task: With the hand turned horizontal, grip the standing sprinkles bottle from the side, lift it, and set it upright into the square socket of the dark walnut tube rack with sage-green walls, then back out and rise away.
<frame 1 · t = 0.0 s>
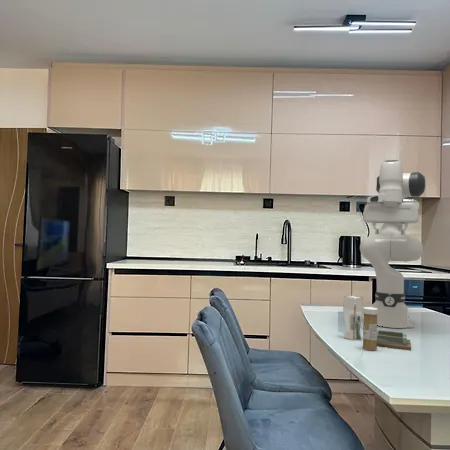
hand: (389, 234, 164), 39 cm above the table, tool pointing down, fingers open, 8 cm apart
sprinkles bottle: (369, 349, 137), on the table
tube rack: (390, 344, 146), on the table
beer glass: (352, 338, 154), on the table
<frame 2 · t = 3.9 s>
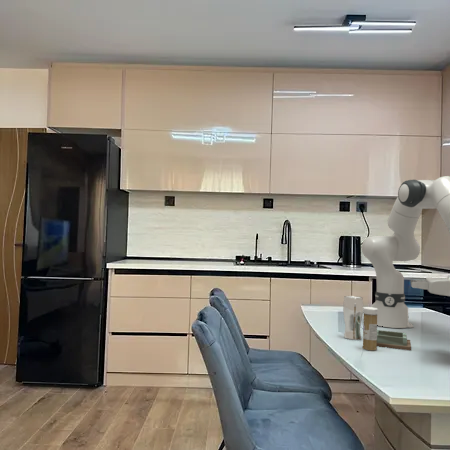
hand: (411, 283, 134), 22 cm above the table, tool horizontal, fingers open, 8 cm apart
nothing on the table moved.
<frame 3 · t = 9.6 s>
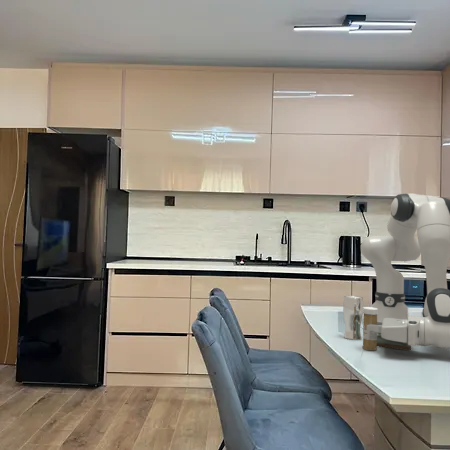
hand: (367, 325, 138), 8 cm above the table, tool horizontal, fingers closed on sprinkles bottle, 4 cm apart
sprinkles bottle: (369, 349, 137), on the table, touching gripper
everything else where it was.
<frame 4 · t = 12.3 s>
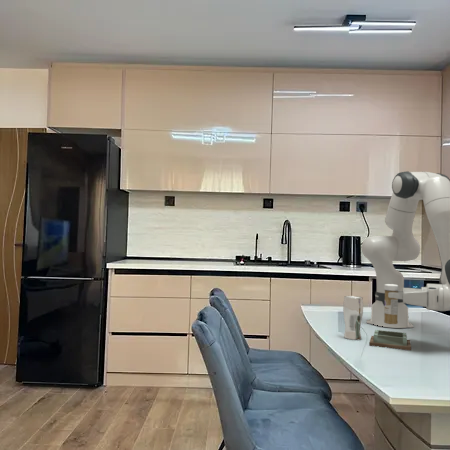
hand: (388, 294, 147), 17 cm above the table, tool horizontal, fingers closed on sprinkles bottle, 4 cm apart
sprinkles bottle: (391, 323, 147), point 7 cm above the table, touching gripper
everything else where it was.
when the fingers open (11 cm above the table, at t = 13.7 s): sprinkles bottle stays where it is, resting on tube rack.
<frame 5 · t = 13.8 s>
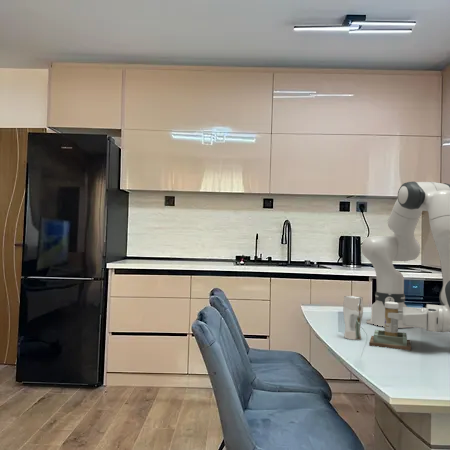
hand: (387, 313, 147), 10 cm above the table, tool horizontal, fingers open, 4 cm apart
sprinkles bottle: (390, 341, 146), point 1 cm above the table, touching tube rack
everything else where it was.
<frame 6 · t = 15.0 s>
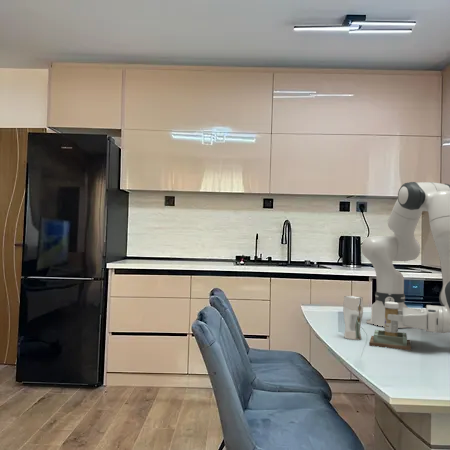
hand: (387, 314, 147), 10 cm above the table, tool horizontal, fingers open, 8 cm apart
nothing on the table moved.
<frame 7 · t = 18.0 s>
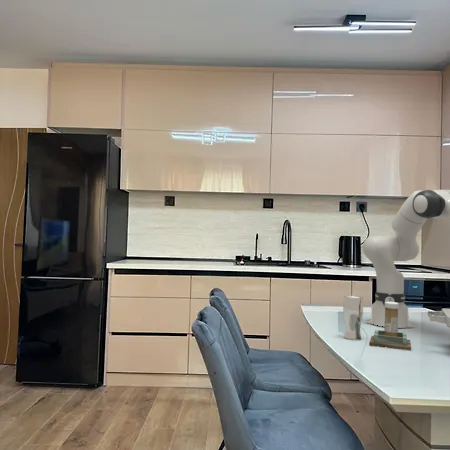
hand: (428, 315, 142), 11 cm above the table, tool horizontal, fingers open, 8 cm apart
nothing on the table moved.
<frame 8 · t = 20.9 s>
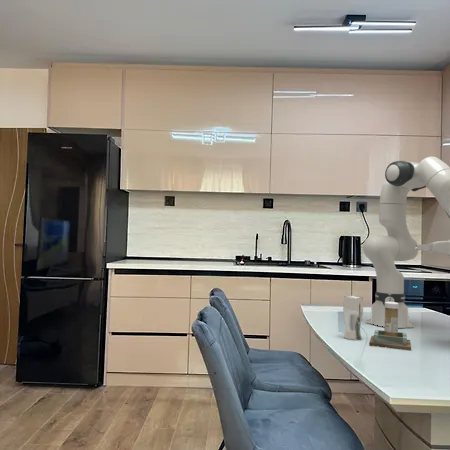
hand: (416, 247, 152), 34 cm above the table, tool horizontal, fingers open, 8 cm apart
nothing on the table moved.
at the end: sprinkles bottle 0.2 cm off-centre on the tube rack, point 0.8 cm above the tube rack's base; sprinkles bottle tilted 0°; the gripper is holding nothing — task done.
